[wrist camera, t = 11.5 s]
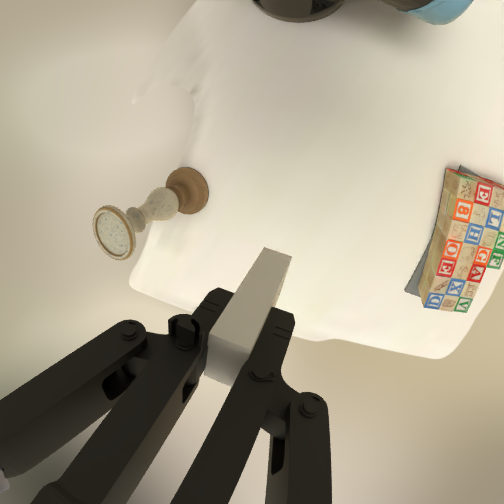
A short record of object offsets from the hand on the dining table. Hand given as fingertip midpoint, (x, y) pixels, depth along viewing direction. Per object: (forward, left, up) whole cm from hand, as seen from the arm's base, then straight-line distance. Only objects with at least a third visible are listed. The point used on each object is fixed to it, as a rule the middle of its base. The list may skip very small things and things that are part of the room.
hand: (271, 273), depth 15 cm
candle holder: (+10, -22, -31) cm, 39 cm away
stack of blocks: (+3, +20, -27) cm, 34 cm away
